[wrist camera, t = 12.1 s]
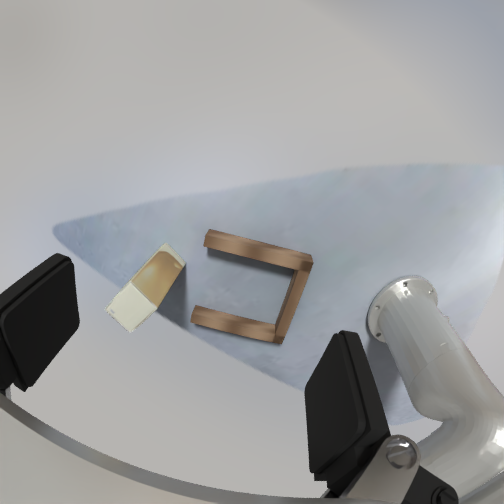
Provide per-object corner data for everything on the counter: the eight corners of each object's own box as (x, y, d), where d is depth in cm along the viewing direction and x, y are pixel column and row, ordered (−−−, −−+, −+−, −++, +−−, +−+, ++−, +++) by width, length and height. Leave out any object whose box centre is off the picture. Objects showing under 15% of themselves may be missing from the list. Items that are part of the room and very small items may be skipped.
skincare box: (161, 286, 42) (128, 335, 30) (141, 266, 41) (102, 310, 29) (188, 261, 40) (158, 309, 29) (167, 239, 39) (128, 281, 27)
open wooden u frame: (311, 255, 38) (313, 262, 36) (281, 334, 44) (281, 344, 41) (209, 229, 38) (205, 235, 35) (194, 312, 43) (190, 322, 41)
